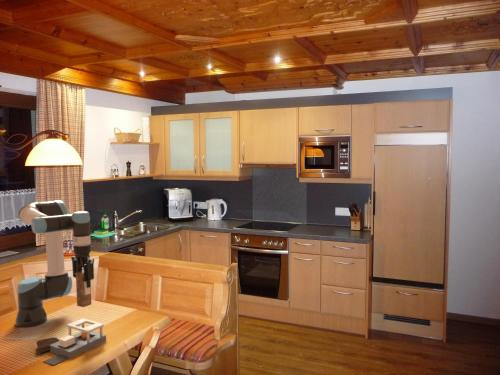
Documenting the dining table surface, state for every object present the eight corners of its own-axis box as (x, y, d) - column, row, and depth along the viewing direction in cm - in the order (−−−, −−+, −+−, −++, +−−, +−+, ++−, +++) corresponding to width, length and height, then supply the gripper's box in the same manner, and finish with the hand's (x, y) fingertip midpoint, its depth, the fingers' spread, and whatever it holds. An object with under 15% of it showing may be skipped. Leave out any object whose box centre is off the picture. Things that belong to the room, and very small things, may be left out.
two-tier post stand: (49, 351, 190) (48, 332, 189) (86, 334, 207) (85, 317, 206) (70, 358, 182) (69, 339, 182) (106, 341, 199) (106, 323, 199)
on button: (59, 345, 188) (59, 339, 188) (69, 341, 192) (68, 335, 192) (65, 347, 186) (64, 341, 186) (74, 343, 190) (74, 336, 190)
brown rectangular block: (77, 305, 196) (75, 272, 195) (85, 302, 200) (83, 270, 199) (83, 307, 194) (82, 273, 192) (91, 304, 198) (90, 271, 196)
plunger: (80, 339, 197) (79, 331, 197) (86, 337, 200) (86, 328, 200) (85, 341, 195) (84, 333, 195) (91, 338, 199) (91, 330, 198)
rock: (36, 356, 186) (36, 348, 185) (35, 347, 195) (35, 339, 194) (63, 350, 191) (63, 342, 191) (61, 342, 200) (61, 334, 200)
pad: (43, 361, 180) (43, 361, 180) (57, 355, 186) (57, 354, 186) (53, 365, 176) (53, 364, 176) (68, 358, 182) (68, 358, 182)
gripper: (62, 244, 196) (64, 292, 198) (87, 248, 187) (89, 298, 189) (76, 241, 202) (78, 288, 204) (101, 244, 193) (103, 293, 195)
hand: (83, 293), depth 196 cm, fingers closed on brown rectangular block, 4 cm apart
